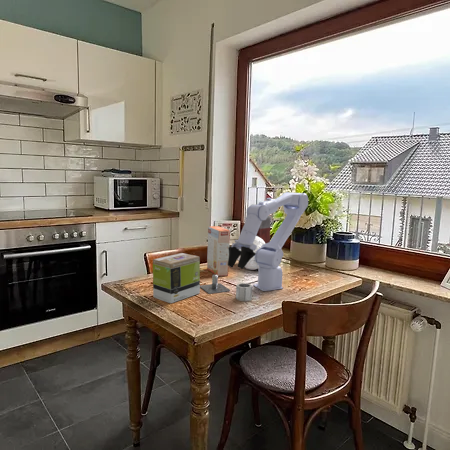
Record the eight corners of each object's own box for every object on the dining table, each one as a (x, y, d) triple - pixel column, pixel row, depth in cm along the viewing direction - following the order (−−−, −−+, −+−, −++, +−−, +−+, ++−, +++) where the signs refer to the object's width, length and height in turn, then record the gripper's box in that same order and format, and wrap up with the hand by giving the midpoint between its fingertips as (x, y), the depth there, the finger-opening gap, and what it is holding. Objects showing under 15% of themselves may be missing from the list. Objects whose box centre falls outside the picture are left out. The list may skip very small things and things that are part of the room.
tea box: (181, 288, 143) (182, 251, 141) (200, 294, 137) (201, 256, 135) (152, 297, 132) (152, 258, 129) (170, 304, 125) (171, 263, 123)
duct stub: (220, 284, 149) (220, 271, 148) (229, 291, 141) (230, 277, 140) (199, 286, 145) (200, 273, 144) (208, 293, 137) (209, 279, 136)
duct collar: (246, 295, 137) (247, 282, 136) (254, 300, 132) (254, 286, 131) (233, 297, 134) (234, 284, 134) (240, 302, 129) (241, 288, 129)
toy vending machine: (254, 253, 210) (256, 205, 206) (269, 257, 202) (271, 207, 198) (243, 255, 204) (245, 206, 200) (258, 259, 196) (261, 208, 192)
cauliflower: (223, 247, 181) (245, 224, 178) (245, 259, 192) (266, 237, 189) (240, 274, 166) (264, 248, 163) (262, 285, 178) (285, 261, 174)
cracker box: (229, 275, 162) (230, 230, 159) (216, 276, 160) (218, 230, 157) (218, 268, 175) (219, 225, 172) (206, 268, 173) (207, 225, 170)
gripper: (230, 229, 140) (217, 261, 136) (250, 228, 127) (236, 263, 124) (244, 237, 142) (231, 268, 139) (265, 237, 130) (252, 272, 126)
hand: (235, 267), depth 132 cm, fingers open, 7 cm apart
